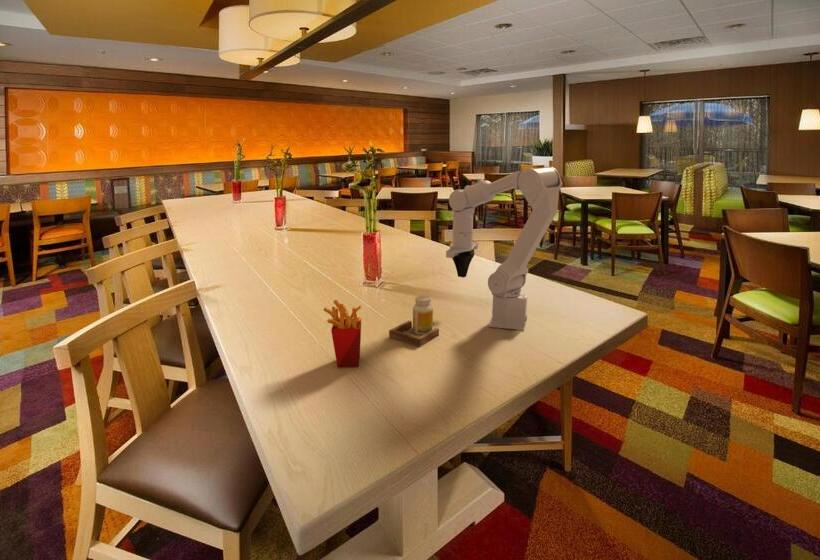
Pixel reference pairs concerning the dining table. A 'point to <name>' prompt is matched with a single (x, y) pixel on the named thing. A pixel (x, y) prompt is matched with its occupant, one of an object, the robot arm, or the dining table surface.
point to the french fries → (345, 335)
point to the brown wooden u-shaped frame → (417, 341)
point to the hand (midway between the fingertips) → (462, 276)
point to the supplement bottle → (422, 315)
